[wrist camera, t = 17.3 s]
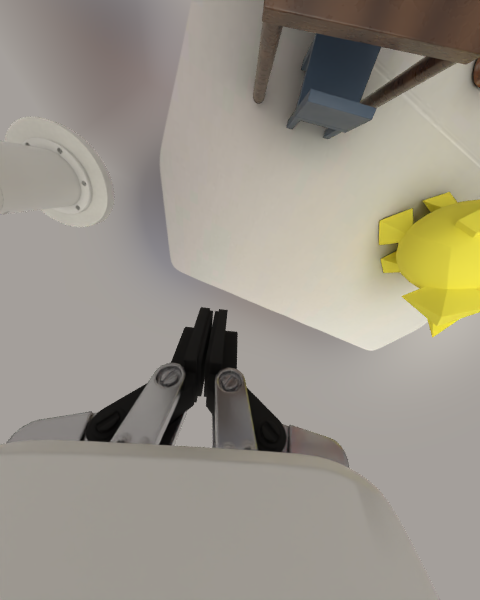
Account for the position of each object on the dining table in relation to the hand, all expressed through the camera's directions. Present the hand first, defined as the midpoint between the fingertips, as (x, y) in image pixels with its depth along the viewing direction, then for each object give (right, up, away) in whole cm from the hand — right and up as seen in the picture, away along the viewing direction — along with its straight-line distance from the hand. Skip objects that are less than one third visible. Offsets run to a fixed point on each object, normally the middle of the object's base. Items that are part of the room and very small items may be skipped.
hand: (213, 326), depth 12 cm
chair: (+14, +34, +18) cm, 40 cm away
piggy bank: (+41, +15, +29) cm, 53 cm away
